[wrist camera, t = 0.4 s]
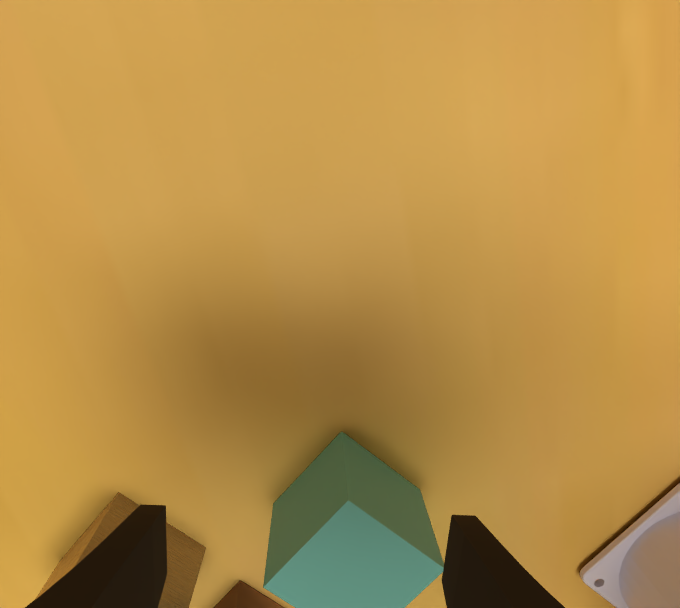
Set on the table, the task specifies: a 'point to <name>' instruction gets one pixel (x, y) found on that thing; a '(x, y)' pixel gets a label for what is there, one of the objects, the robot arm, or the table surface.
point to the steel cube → (180, 554)
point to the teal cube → (350, 535)
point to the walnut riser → (246, 598)
